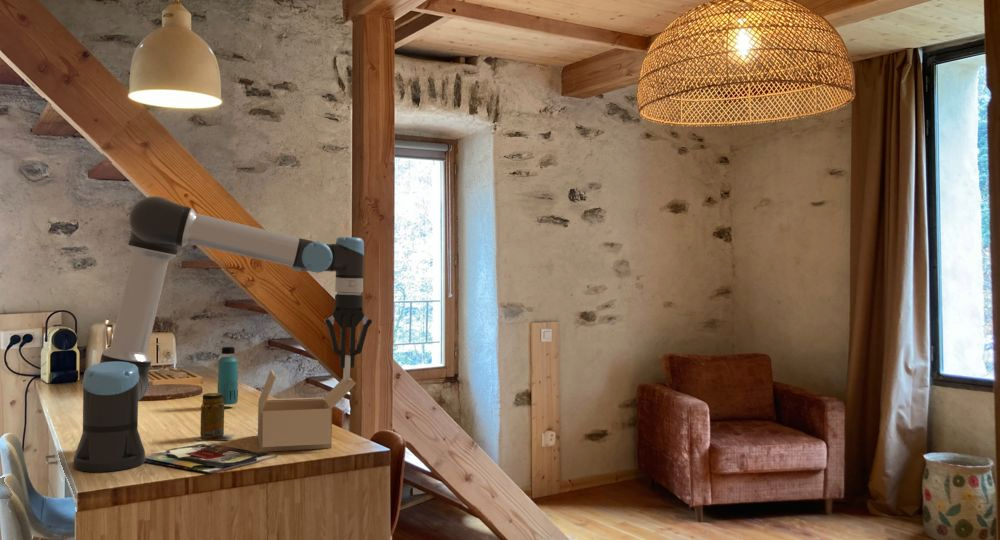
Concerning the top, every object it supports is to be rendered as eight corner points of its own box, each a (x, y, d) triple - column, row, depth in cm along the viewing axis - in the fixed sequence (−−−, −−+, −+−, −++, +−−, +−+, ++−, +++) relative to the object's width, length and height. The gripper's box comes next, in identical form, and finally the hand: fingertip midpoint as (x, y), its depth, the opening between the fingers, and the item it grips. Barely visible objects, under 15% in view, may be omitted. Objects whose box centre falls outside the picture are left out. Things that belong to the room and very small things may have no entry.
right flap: (330, 407, 205) (354, 382, 207) (323, 397, 220) (346, 374, 222) (331, 408, 206) (356, 383, 208) (325, 398, 220) (348, 375, 222)
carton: (259, 451, 199) (260, 412, 199) (257, 438, 214) (258, 401, 214) (331, 448, 205) (332, 410, 205) (324, 434, 220) (325, 399, 220)
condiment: (202, 435, 217) (203, 392, 217) (234, 435, 218) (235, 392, 218) (195, 441, 210) (196, 396, 209) (227, 441, 210) (228, 396, 210)
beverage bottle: (229, 410, 253) (230, 348, 253) (212, 408, 255) (213, 347, 255) (242, 406, 259) (243, 346, 259) (225, 405, 261) (226, 345, 261)
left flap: (260, 410, 200) (273, 377, 201) (258, 400, 214) (270, 369, 215) (262, 411, 200) (275, 377, 201) (260, 400, 214) (272, 369, 215)
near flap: (262, 411, 199) (262, 447, 196) (262, 411, 199) (262, 447, 196) (330, 408, 205) (331, 443, 202) (330, 408, 204) (331, 443, 202)
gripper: (326, 293, 208) (323, 382, 208) (375, 294, 213) (372, 381, 213) (323, 292, 215) (320, 378, 216) (370, 293, 220) (367, 377, 220)
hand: (346, 379), depth 214 cm, fingers closed
